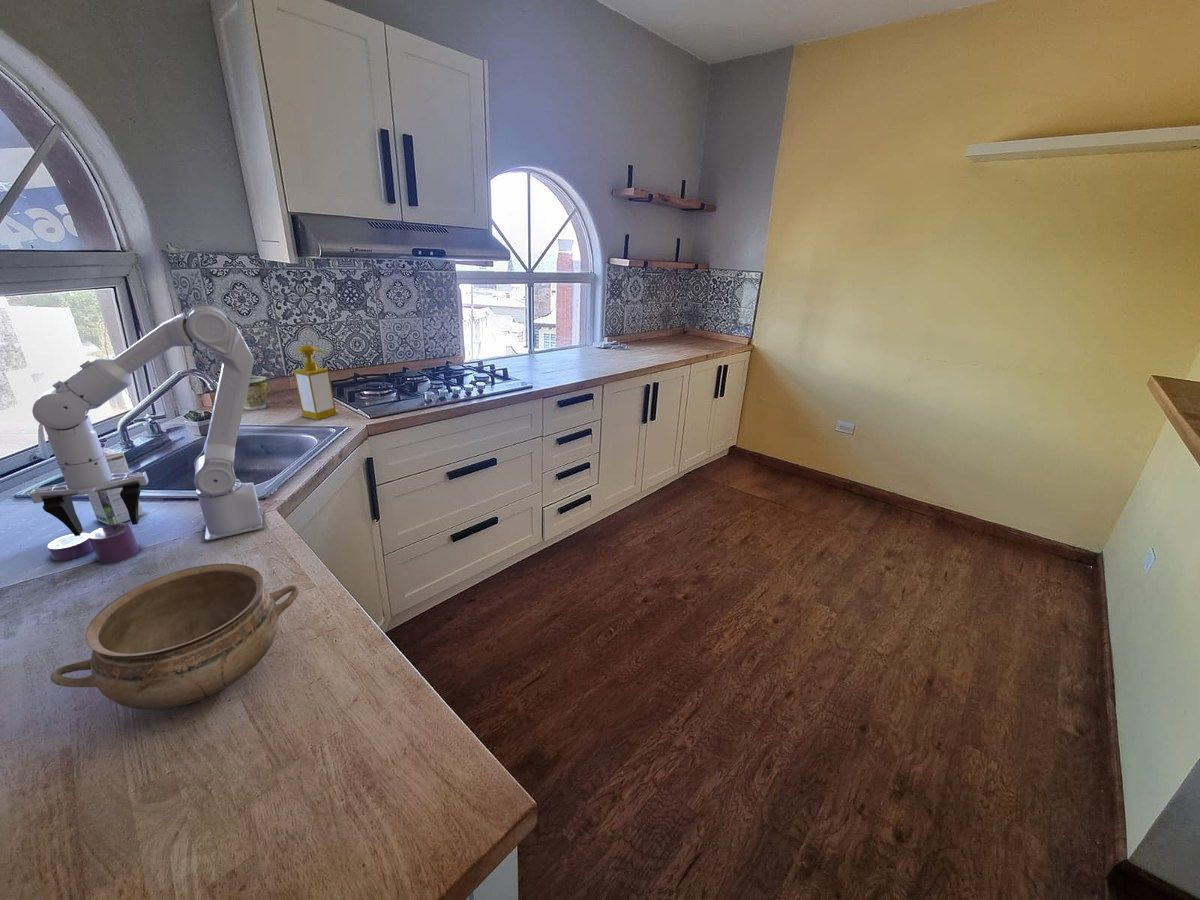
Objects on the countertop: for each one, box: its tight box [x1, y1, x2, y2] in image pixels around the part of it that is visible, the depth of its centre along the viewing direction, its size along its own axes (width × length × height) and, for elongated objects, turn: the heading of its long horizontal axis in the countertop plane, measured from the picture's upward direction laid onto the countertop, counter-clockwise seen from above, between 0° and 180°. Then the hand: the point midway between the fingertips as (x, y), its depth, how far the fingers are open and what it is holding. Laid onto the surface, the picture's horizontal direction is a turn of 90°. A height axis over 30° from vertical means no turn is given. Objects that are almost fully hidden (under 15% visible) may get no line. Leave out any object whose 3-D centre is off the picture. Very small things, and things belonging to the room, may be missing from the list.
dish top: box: [46, 532, 94, 562], centre depth 92 cm, size 6×6×2 cm
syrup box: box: [86, 447, 144, 526], centre depth 102 cm, size 6×6×14 cm
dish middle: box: [89, 522, 136, 551], centre depth 91 cm, size 6×6×2 cm
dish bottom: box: [93, 537, 140, 564], centre depth 92 cm, size 6×6×2 cm
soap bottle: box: [293, 344, 337, 421], centre depth 164 cm, size 7×13×24 cm, turn 65°
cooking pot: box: [50, 562, 300, 711], centre depth 65 cm, size 25×19×12 cm
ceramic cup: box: [243, 375, 272, 411], centre depth 173 cm, size 13×10×10 cm
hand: (108, 527), depth 90 cm, fingers open, 7 cm apart
